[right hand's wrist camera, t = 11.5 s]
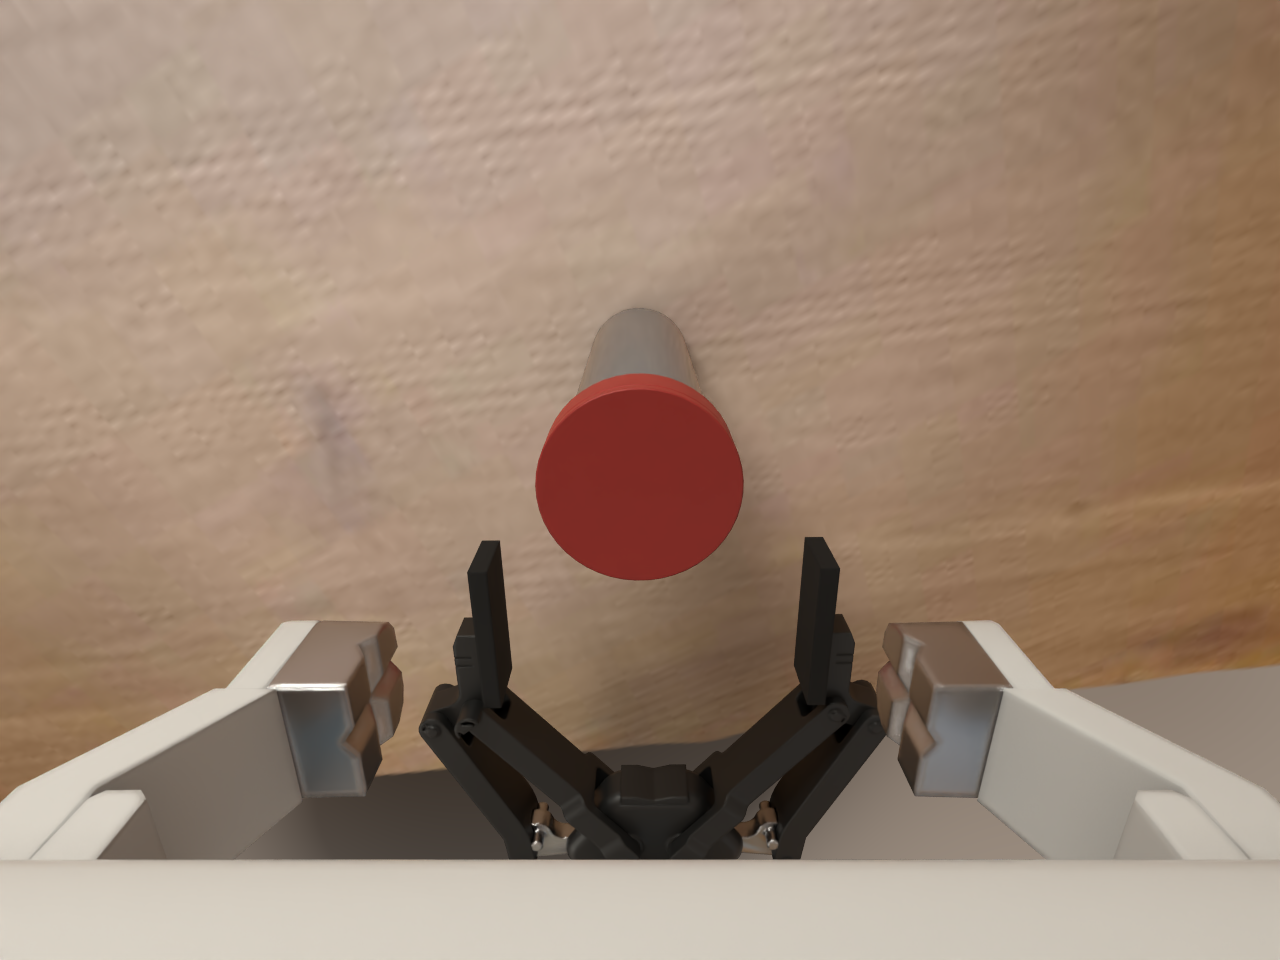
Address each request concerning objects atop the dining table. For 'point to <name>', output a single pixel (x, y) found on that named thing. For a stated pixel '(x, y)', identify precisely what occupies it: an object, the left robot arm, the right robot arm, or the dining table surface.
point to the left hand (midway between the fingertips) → (652, 552)
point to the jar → (639, 349)
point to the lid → (639, 477)
